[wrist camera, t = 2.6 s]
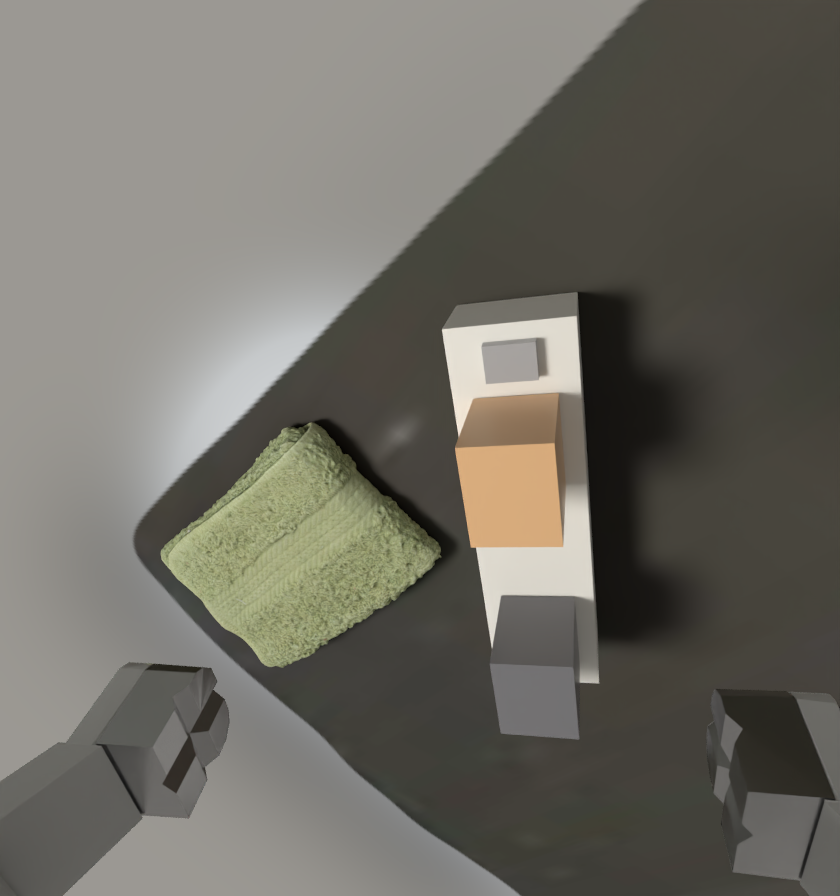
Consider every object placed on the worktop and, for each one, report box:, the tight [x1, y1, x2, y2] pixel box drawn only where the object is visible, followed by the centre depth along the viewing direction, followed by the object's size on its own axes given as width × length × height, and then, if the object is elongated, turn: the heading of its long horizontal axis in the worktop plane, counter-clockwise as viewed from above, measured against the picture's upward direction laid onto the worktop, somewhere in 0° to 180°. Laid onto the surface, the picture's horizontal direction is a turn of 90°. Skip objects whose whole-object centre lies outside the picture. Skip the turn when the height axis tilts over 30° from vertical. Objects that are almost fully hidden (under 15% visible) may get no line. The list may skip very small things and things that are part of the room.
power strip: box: [442, 292, 599, 683], centre depth 35 cm, size 22×6×5 cm, turn 9°
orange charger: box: [455, 393, 566, 547], centre depth 30 cm, size 5×4×7 cm
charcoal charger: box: [490, 596, 580, 739], centre depth 35 cm, size 5×4×7 cm
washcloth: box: [161, 423, 441, 667], centre depth 42 cm, size 13×18×3 cm
